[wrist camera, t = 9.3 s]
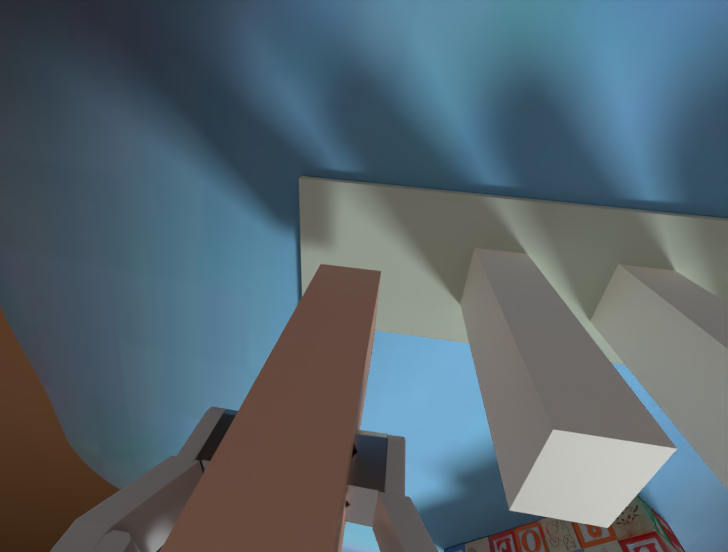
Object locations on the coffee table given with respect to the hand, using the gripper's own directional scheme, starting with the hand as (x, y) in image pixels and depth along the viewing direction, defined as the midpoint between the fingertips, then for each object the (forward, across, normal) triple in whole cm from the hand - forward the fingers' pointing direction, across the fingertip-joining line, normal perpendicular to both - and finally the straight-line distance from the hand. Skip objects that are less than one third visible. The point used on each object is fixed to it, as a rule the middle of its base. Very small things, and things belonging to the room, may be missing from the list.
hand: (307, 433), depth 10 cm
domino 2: (+12, -8, 0) cm, 14 cm away
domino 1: (+8, 0, 0) cm, 8 cm away
